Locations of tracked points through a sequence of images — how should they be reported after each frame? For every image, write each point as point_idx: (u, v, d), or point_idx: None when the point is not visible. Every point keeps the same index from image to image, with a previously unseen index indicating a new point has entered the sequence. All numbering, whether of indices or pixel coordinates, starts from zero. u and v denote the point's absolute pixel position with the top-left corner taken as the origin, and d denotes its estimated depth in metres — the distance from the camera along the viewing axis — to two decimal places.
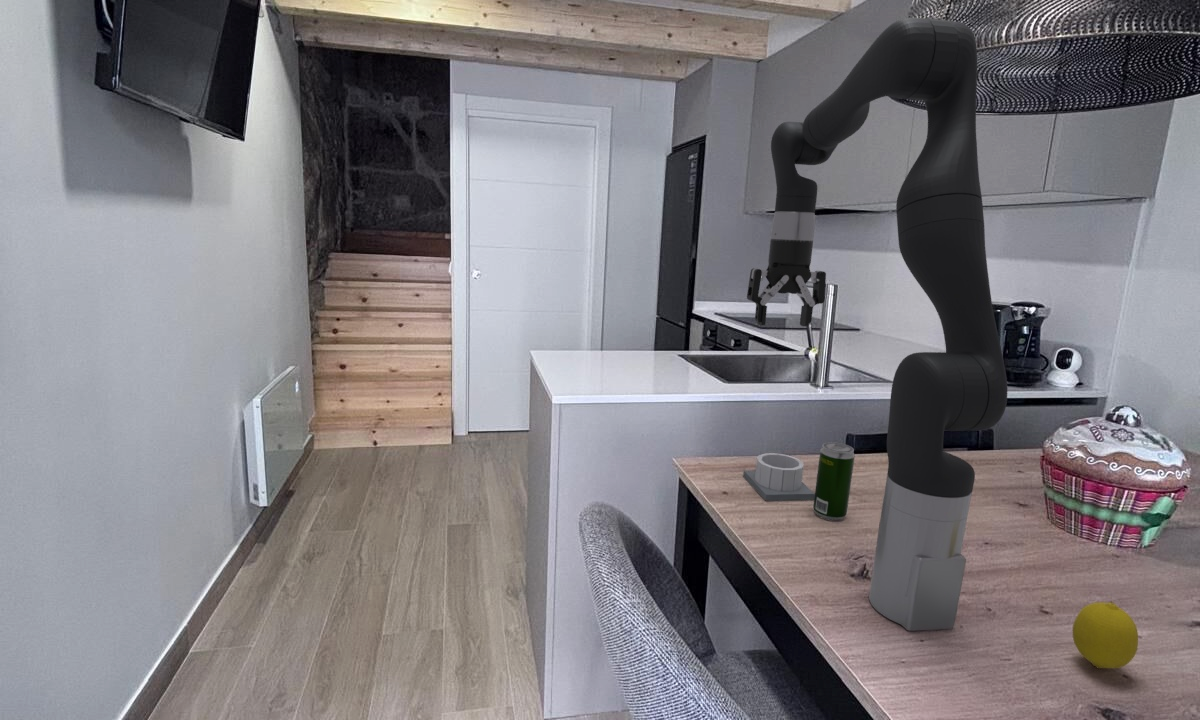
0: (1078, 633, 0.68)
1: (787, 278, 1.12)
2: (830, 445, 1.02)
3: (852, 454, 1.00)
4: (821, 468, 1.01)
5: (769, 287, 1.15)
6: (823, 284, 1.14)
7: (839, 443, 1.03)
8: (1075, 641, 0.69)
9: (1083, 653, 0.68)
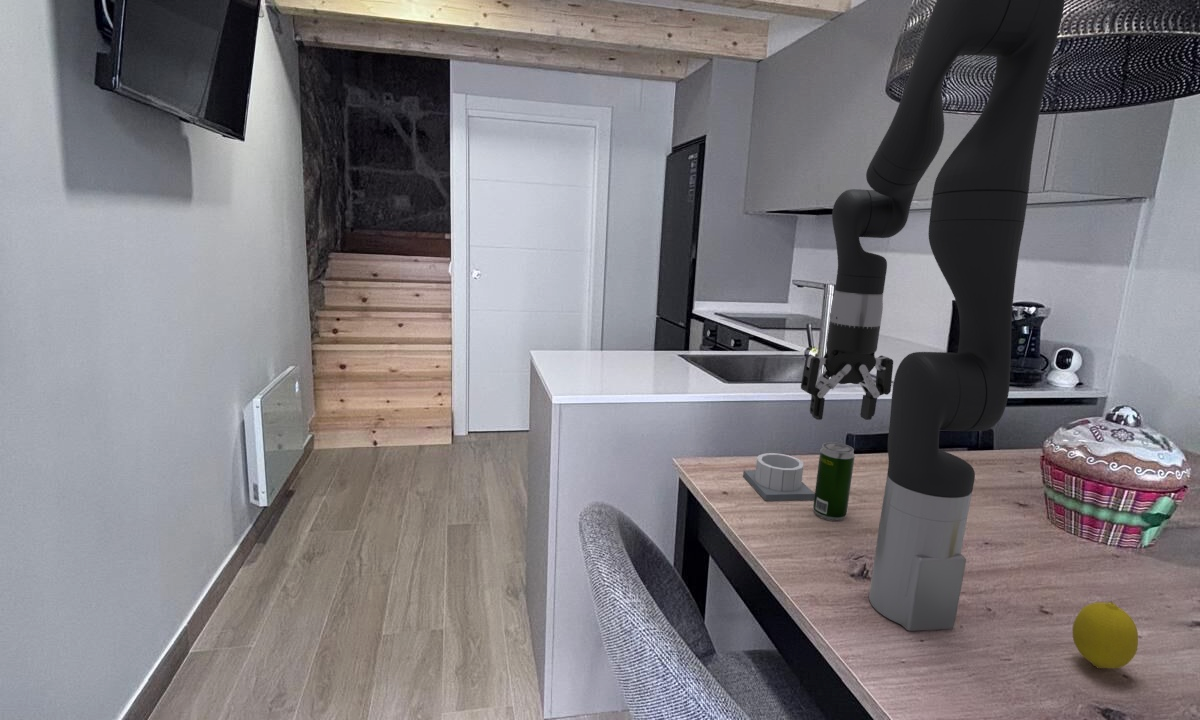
0: (1078, 633, 0.68)
1: (849, 368, 0.96)
2: (830, 445, 1.02)
3: (852, 454, 1.00)
4: (821, 468, 1.01)
5: (826, 375, 0.99)
6: (889, 372, 0.98)
7: (839, 443, 1.03)
8: (1075, 641, 0.69)
9: (1083, 653, 0.68)
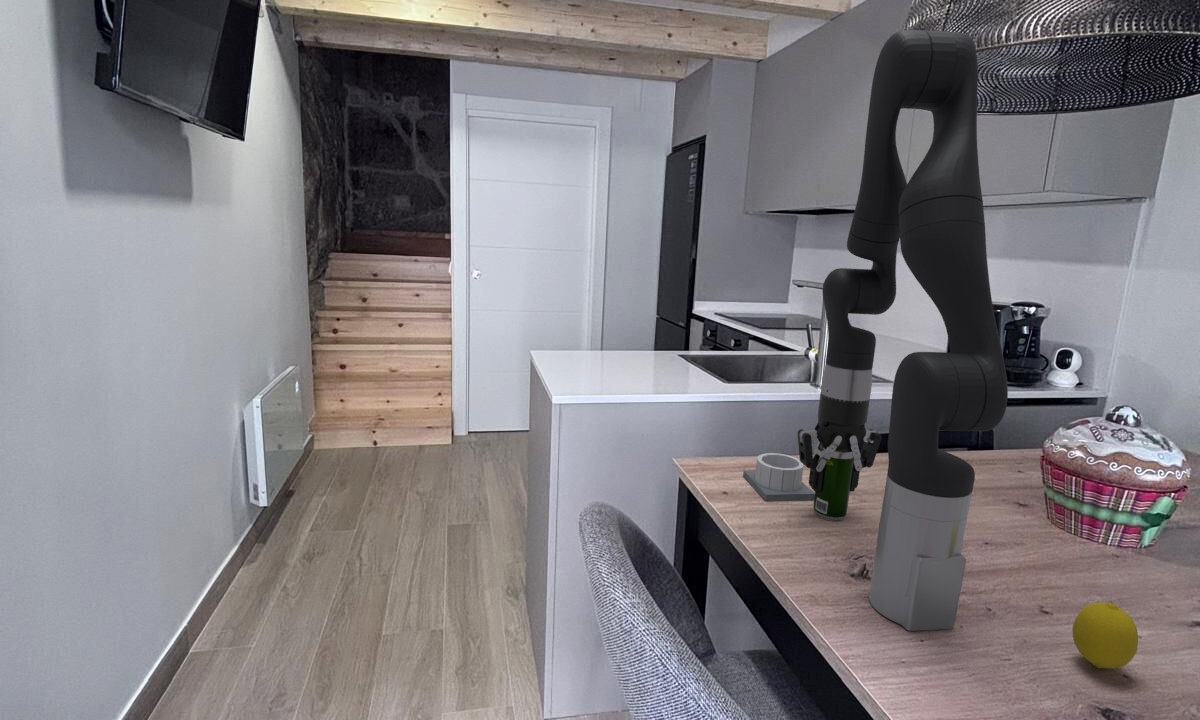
0: (1078, 633, 0.68)
1: (840, 438, 0.99)
2: None
3: (852, 454, 1.00)
4: None
5: (821, 446, 1.02)
6: (875, 447, 1.01)
7: None
8: (1075, 641, 0.69)
9: (1083, 653, 0.68)
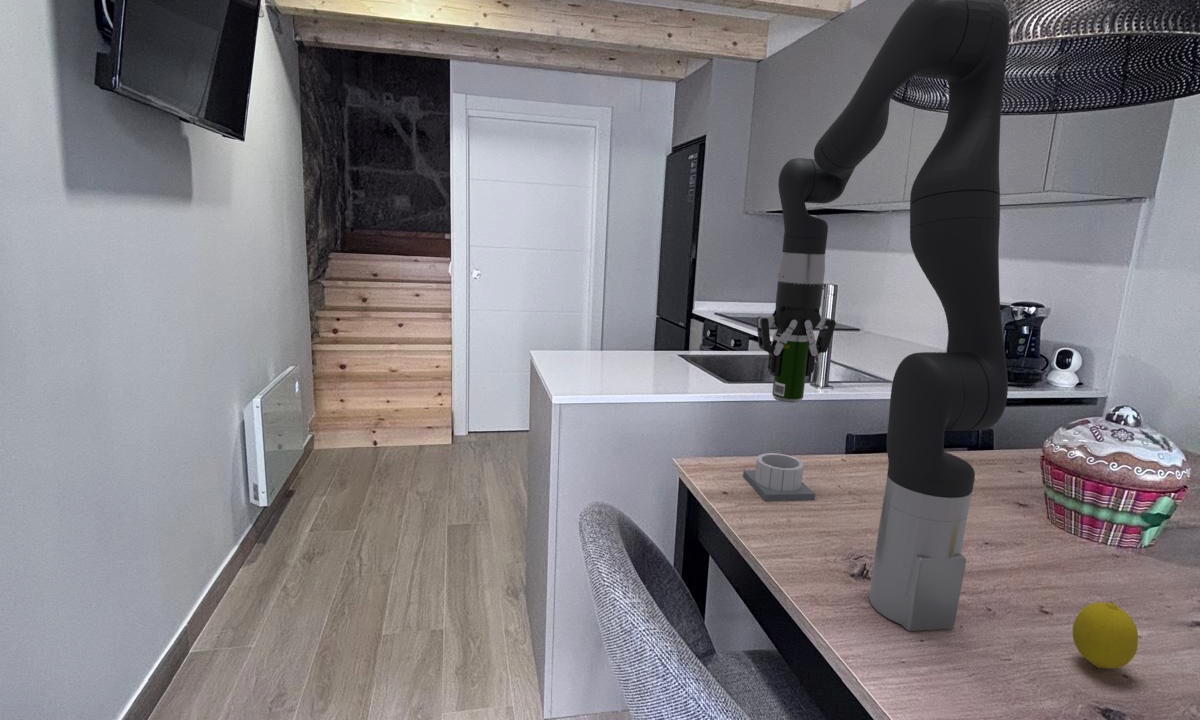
0: (1078, 633, 0.68)
1: (795, 322, 1.05)
2: None
3: (807, 338, 1.06)
4: None
5: (779, 333, 1.08)
6: (830, 332, 1.07)
7: None
8: (1075, 641, 0.69)
9: (1083, 653, 0.68)
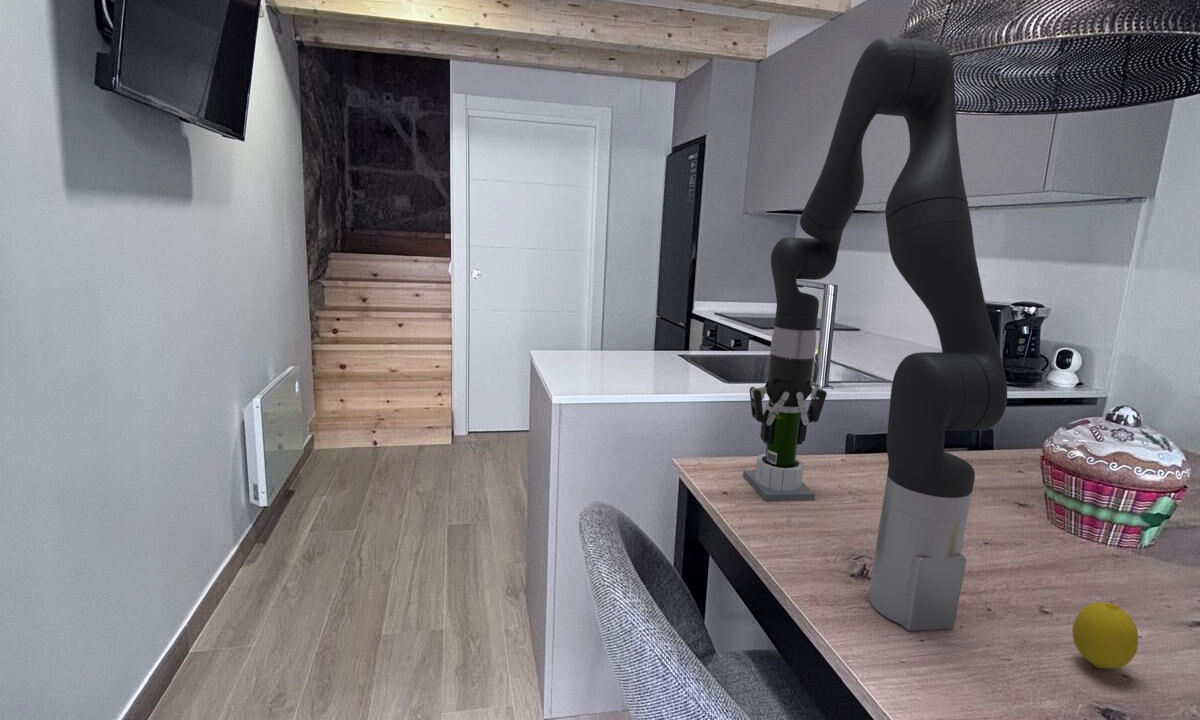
0: (1078, 633, 0.68)
1: (787, 394, 1.08)
2: None
3: (799, 409, 1.09)
4: None
5: (771, 402, 1.11)
6: (821, 403, 1.10)
7: None
8: (1075, 641, 0.69)
9: (1083, 653, 0.68)
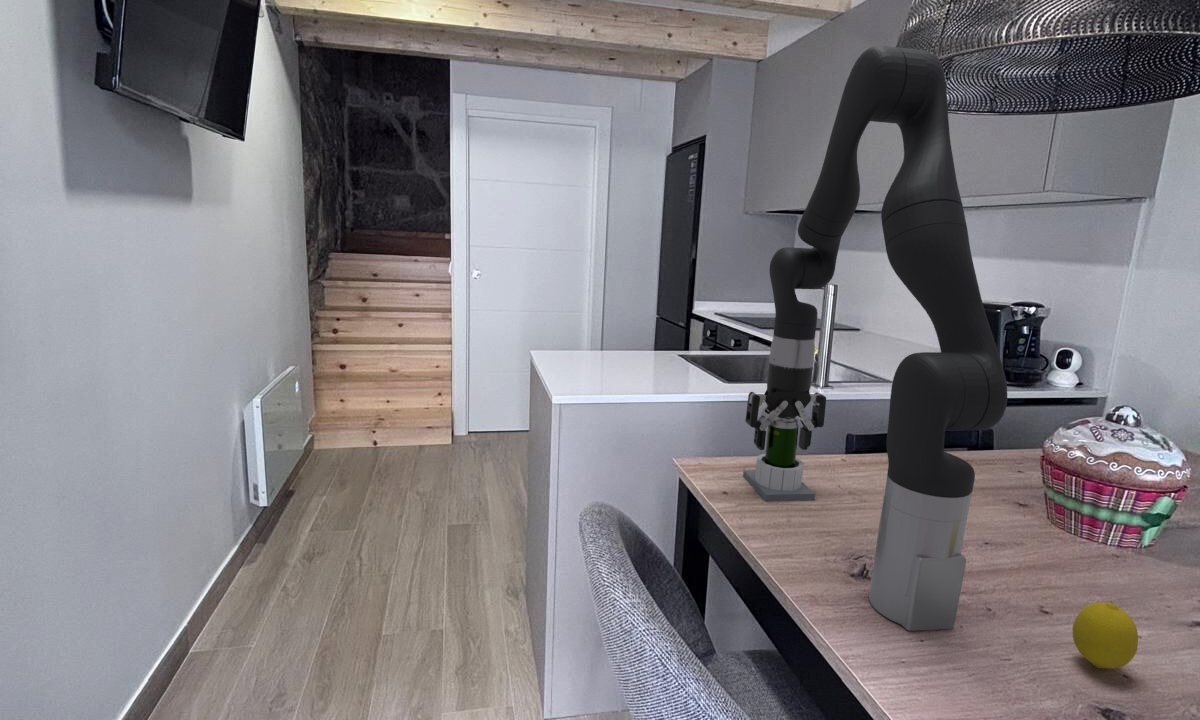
0: (1078, 633, 0.68)
1: (786, 404, 1.08)
2: (777, 417, 1.12)
3: (796, 424, 1.10)
4: (769, 438, 1.11)
5: (768, 410, 1.11)
6: (822, 408, 1.10)
7: None
8: (1075, 641, 0.69)
9: (1083, 653, 0.68)
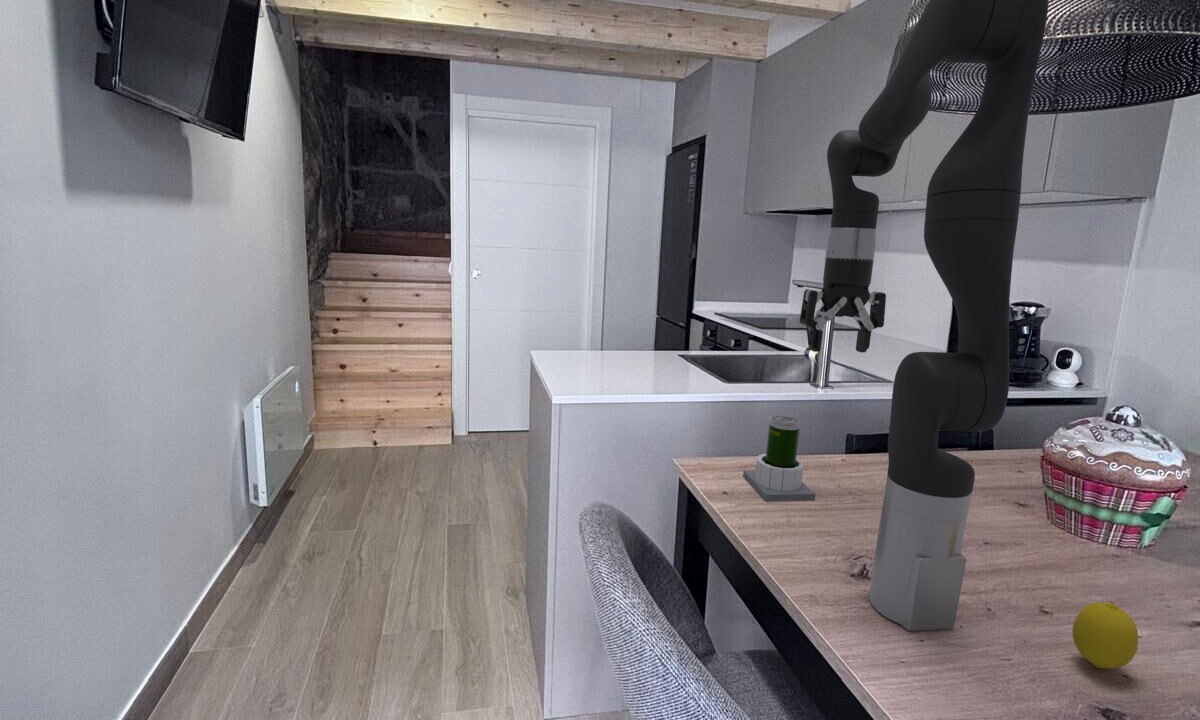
0: (1078, 633, 0.68)
1: (845, 300, 1.02)
2: (778, 418, 1.12)
3: (797, 426, 1.09)
4: (770, 438, 1.11)
5: (823, 310, 1.05)
6: (882, 306, 1.04)
7: None
8: (1075, 641, 0.69)
9: (1083, 653, 0.68)
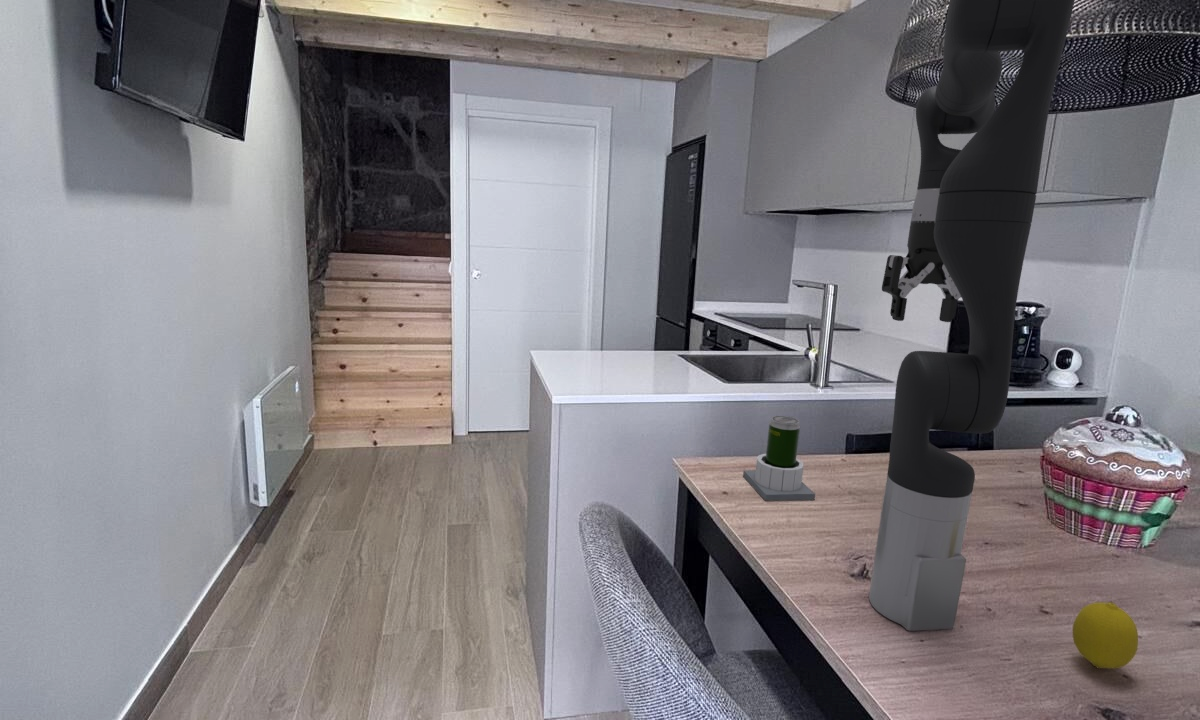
0: (1078, 633, 0.68)
1: (932, 266, 0.97)
2: (778, 418, 1.12)
3: (797, 426, 1.09)
4: (770, 438, 1.11)
5: (907, 277, 1.00)
6: None
7: None
8: (1075, 641, 0.69)
9: (1083, 653, 0.68)
